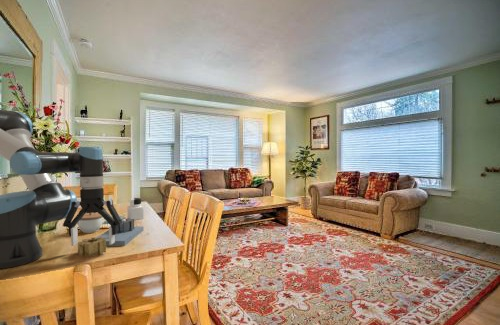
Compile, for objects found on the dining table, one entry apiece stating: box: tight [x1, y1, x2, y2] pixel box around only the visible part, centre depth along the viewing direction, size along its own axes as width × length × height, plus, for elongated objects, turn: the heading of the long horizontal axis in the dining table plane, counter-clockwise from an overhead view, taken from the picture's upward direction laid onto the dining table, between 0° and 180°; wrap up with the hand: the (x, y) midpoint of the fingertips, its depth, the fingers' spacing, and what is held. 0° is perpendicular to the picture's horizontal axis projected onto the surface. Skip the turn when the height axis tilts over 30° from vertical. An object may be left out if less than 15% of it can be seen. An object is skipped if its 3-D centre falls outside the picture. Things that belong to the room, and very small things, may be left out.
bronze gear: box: [77, 236, 107, 258], centre depth 97 cm, size 9×9×4 cm
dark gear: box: [117, 217, 135, 233], centre depth 120 cm, size 9×9×4 cm
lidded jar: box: [77, 212, 104, 234], centre depth 125 cm, size 11×11×9 cm
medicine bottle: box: [126, 197, 145, 221], centre depth 151 cm, size 7×7×12 cm
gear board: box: [95, 218, 144, 247], centre depth 115 cm, size 14×22×7 cm, turn 4°
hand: (93, 244), depth 97 cm, fingers open, 13 cm apart
